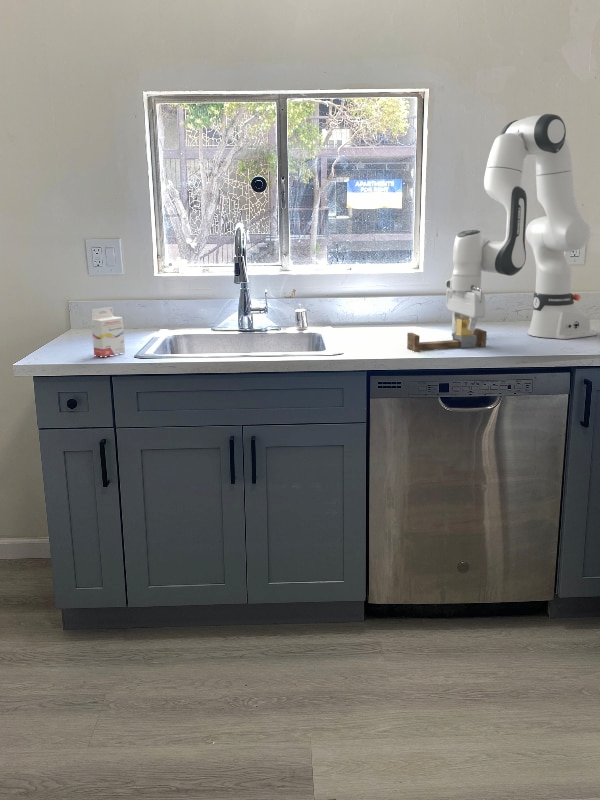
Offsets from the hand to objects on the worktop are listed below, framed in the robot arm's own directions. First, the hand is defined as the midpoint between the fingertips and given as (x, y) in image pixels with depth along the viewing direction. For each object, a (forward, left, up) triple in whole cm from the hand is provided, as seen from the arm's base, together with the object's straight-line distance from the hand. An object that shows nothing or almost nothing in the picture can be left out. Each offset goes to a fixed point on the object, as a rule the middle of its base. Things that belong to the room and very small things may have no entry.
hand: (464, 328), depth 230 cm
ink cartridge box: (+109, -24, -6) cm, 112 cm away
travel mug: (-7, -16, -6) cm, 19 cm away
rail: (+6, 0, -6) cm, 8 cm away
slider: (0, 0, -6) cm, 6 cm away
